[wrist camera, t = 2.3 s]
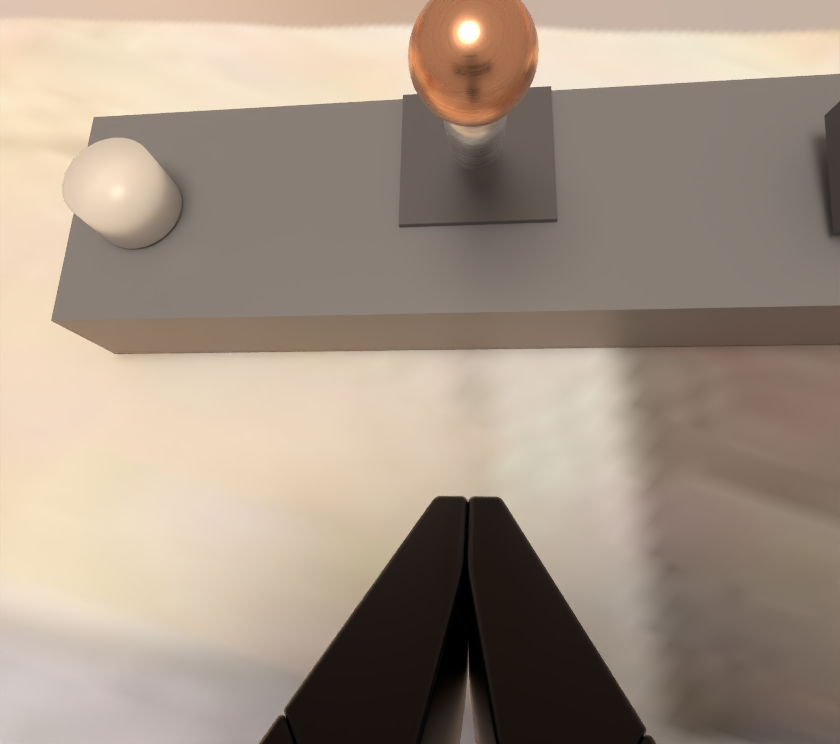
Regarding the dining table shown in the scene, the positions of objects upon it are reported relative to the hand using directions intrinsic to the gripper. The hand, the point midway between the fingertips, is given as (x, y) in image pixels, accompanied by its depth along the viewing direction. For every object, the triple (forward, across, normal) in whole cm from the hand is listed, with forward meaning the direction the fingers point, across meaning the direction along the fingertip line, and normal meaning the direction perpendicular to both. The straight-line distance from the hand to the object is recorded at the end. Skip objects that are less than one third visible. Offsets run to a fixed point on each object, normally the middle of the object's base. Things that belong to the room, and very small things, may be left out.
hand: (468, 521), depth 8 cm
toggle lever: (+15, 0, -2) cm, 15 cm away
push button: (+14, +11, -1) cm, 18 cm away
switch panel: (+16, 0, +1) cm, 16 cm away
